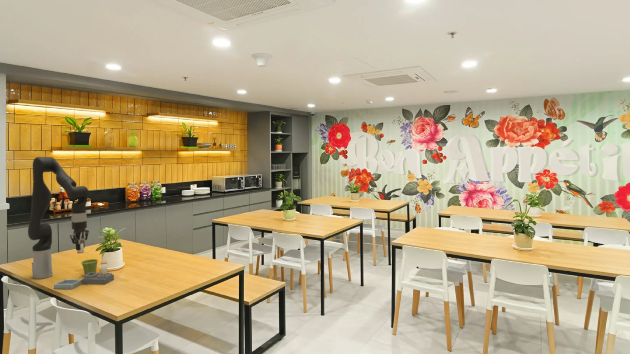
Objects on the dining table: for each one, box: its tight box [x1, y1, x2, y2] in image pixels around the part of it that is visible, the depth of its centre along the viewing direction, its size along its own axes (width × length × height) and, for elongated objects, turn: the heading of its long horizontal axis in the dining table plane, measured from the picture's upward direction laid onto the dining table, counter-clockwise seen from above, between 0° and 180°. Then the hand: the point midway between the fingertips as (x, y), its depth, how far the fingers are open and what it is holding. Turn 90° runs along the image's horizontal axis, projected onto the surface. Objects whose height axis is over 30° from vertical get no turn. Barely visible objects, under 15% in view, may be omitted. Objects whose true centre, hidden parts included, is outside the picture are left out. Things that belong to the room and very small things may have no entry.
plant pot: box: [80, 258, 99, 275], centre depth 237 cm, size 9×9×9 cm
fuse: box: [100, 260, 108, 276], centre depth 224 cm, size 3×3×9 cm
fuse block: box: [81, 272, 115, 285], centre depth 225 cm, size 14×9×4 cm, turn 87°
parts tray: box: [53, 278, 83, 290], centre depth 217 cm, size 11×9×3 cm
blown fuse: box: [76, 237, 85, 254], centre depth 221 cm, size 3×3×9 cm
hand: (80, 249), depth 221 cm, fingers closed on blown fuse, 3 cm apart
